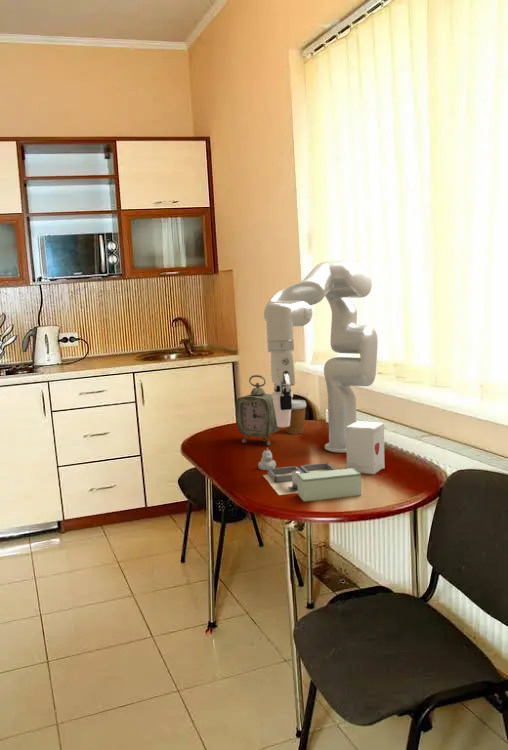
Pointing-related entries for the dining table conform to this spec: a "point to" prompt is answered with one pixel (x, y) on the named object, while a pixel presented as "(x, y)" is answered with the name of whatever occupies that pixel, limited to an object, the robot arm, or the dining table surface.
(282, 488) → the board
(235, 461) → the dining table surface
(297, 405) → the disposable coffee cup
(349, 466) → the supplement box
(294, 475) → the pin
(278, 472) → the socket
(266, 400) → the tabletop clock
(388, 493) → the dining table surface
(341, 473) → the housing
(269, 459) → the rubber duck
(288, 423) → the smoothie
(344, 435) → the robot arm
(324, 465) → the socket
